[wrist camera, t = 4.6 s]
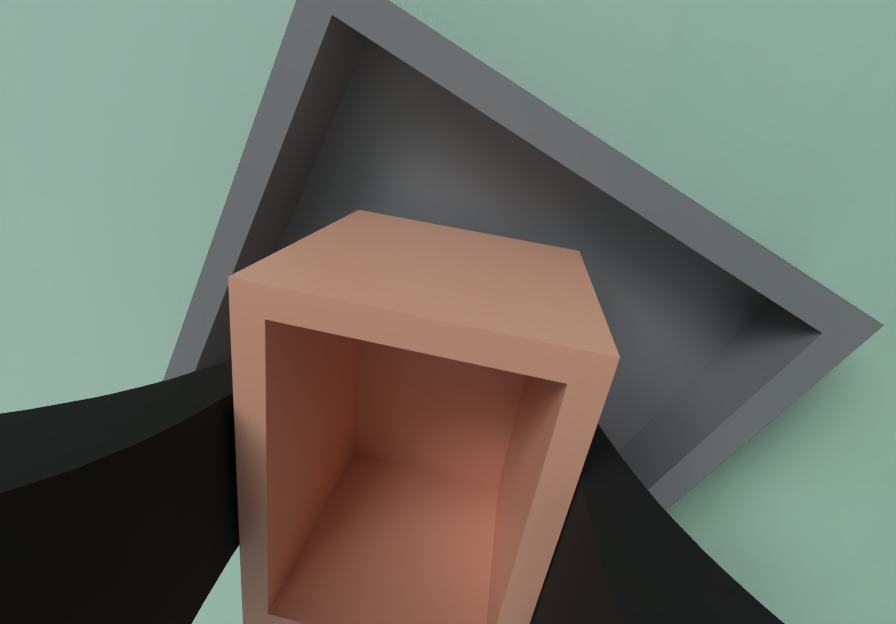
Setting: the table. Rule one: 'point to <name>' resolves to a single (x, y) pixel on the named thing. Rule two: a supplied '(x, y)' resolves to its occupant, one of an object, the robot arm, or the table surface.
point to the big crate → (525, 230)
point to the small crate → (410, 421)
